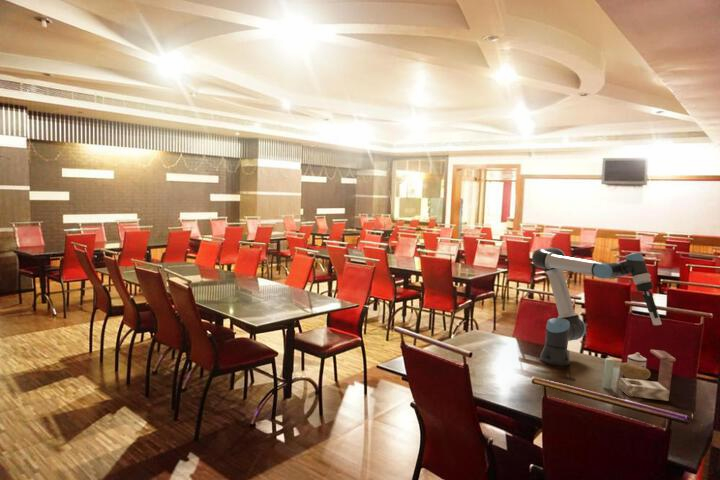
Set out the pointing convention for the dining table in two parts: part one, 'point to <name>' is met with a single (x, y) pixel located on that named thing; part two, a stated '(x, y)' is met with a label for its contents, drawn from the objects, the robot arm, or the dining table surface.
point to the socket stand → (650, 387)
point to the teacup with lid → (637, 360)
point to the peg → (608, 373)
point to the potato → (634, 371)
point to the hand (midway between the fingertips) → (657, 324)
